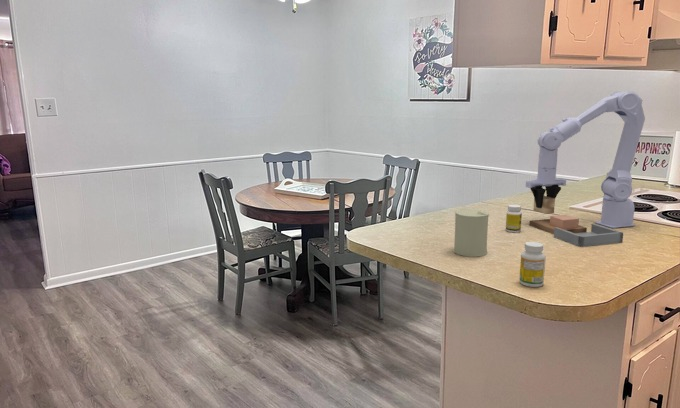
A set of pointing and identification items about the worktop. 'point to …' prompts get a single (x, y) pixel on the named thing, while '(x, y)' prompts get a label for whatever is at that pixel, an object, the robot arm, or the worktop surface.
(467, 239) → the can
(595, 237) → the tray
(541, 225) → the board
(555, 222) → the pink square block
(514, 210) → the supplement bottle
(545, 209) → the tall beige block
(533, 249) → the supplement bottle
